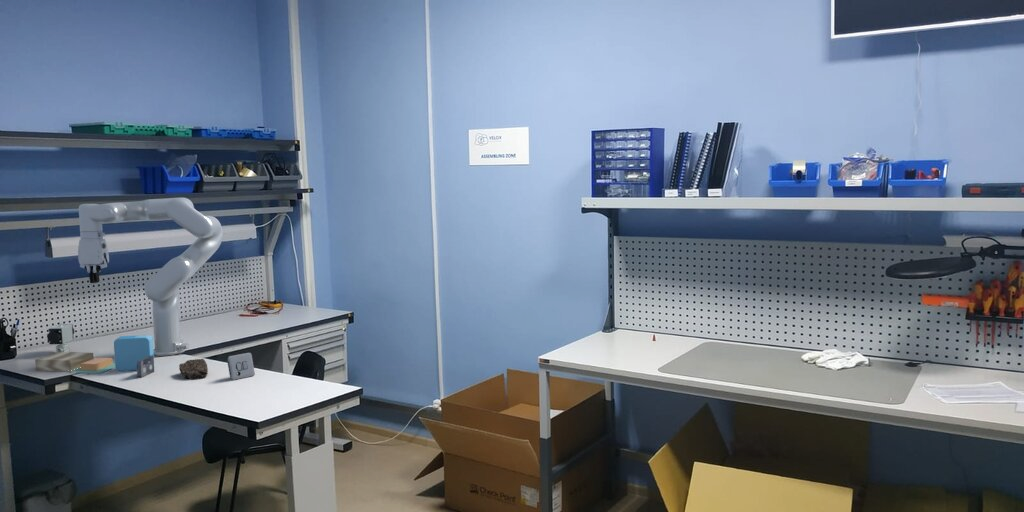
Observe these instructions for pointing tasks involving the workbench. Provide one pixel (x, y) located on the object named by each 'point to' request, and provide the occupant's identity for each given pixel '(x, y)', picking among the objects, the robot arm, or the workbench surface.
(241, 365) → the electrical switch
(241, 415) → the workbench surface
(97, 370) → the mat
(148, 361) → the mini dv tape
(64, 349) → the pneumatic valve
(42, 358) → the deck
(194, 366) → the brown rock
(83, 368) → the orange sponge
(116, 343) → the data package
